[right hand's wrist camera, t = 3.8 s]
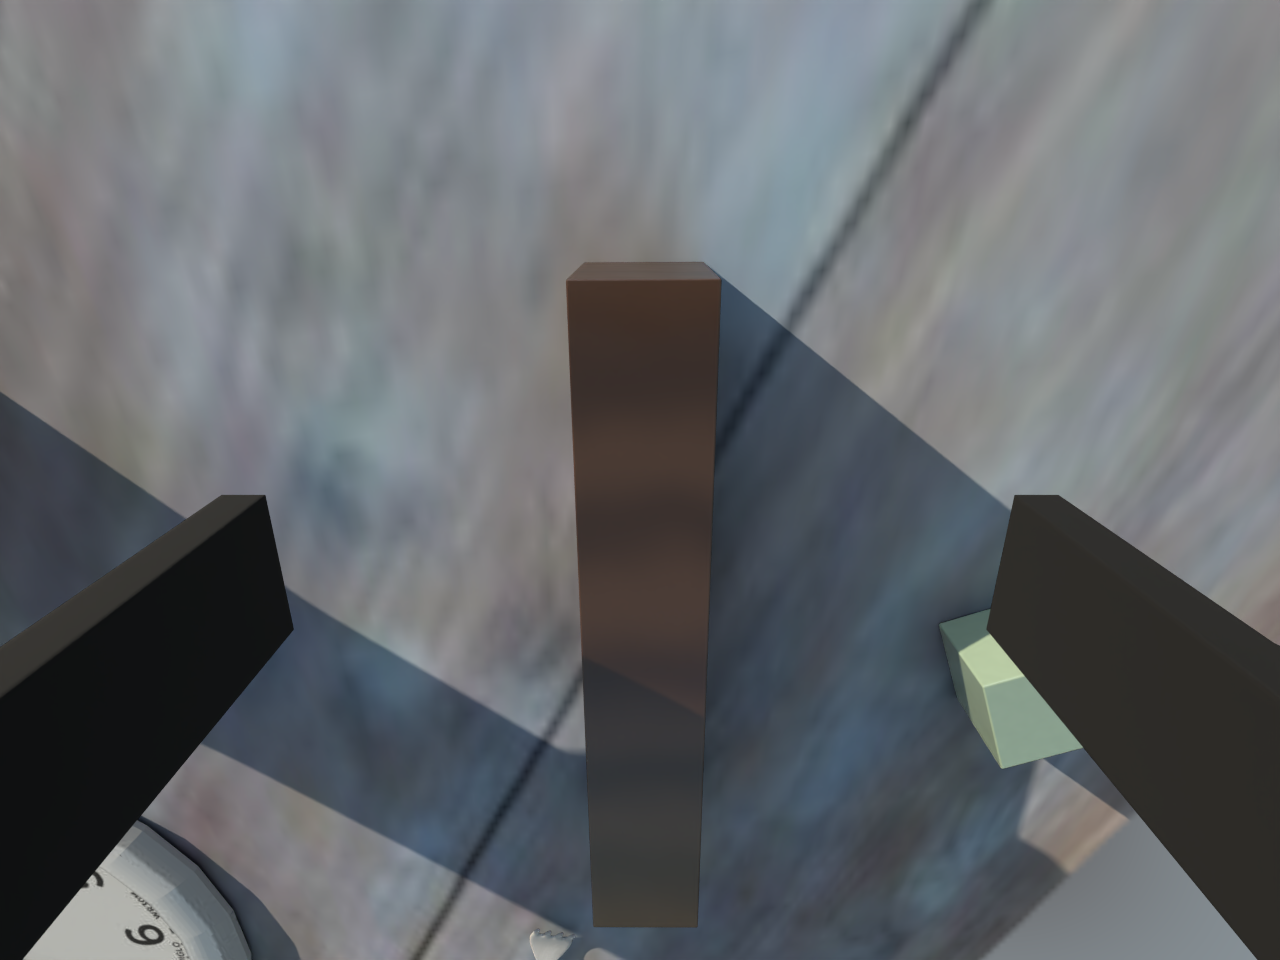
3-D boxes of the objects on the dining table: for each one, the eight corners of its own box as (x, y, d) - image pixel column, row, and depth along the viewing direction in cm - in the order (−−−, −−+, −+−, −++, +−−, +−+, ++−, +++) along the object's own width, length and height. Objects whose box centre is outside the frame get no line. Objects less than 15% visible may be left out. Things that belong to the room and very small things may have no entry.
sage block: (1038, 593, 35) (1099, 654, 30) (1052, 672, 36) (1112, 741, 32) (937, 623, 35) (982, 686, 31) (956, 698, 37) (1001, 770, 32)
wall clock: (312, 1087, 47) (-87, 1137, 49) (323, 1059, 48) (-65, 1109, 51) (94, 739, 36) (-404, 826, 38) (117, 717, 37) (-364, 802, 40)
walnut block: (583, 262, 29) (565, 279, 22) (704, 262, 29) (721, 278, 22) (601, 809, 40) (593, 927, 33) (688, 809, 40) (697, 927, 33)
